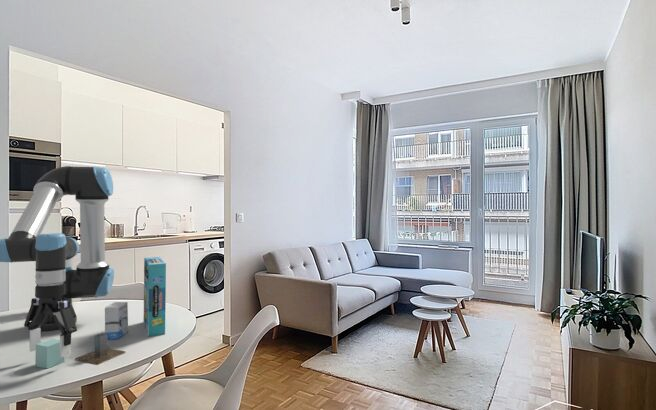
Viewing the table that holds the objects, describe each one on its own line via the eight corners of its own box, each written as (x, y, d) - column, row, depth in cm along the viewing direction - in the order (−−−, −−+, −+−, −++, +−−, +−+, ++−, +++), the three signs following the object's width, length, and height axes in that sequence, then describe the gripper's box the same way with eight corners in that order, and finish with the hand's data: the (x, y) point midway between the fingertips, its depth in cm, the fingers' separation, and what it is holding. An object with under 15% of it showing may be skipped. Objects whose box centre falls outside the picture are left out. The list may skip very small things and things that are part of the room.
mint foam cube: (35, 365, 115) (35, 344, 115) (53, 359, 120) (53, 338, 120) (47, 368, 113) (47, 346, 113) (64, 361, 118) (64, 340, 118)
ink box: (118, 339, 138) (118, 307, 138) (103, 339, 138) (103, 307, 138) (128, 331, 146) (128, 301, 146) (114, 332, 146) (115, 301, 146)
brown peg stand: (75, 359, 120) (75, 337, 120) (103, 348, 129) (103, 328, 129) (97, 364, 116) (98, 341, 116) (125, 352, 126) (125, 331, 126)
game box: (142, 322, 158) (143, 257, 158) (159, 319, 162) (159, 256, 162) (147, 337, 141) (147, 264, 141) (165, 334, 144) (166, 263, 144)
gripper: (10, 283, 117) (9, 351, 117) (66, 288, 109) (65, 363, 108) (36, 279, 124) (35, 343, 124) (91, 284, 116) (90, 353, 115)
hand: (49, 353), depth 116 cm, fingers open, 13 cm apart
